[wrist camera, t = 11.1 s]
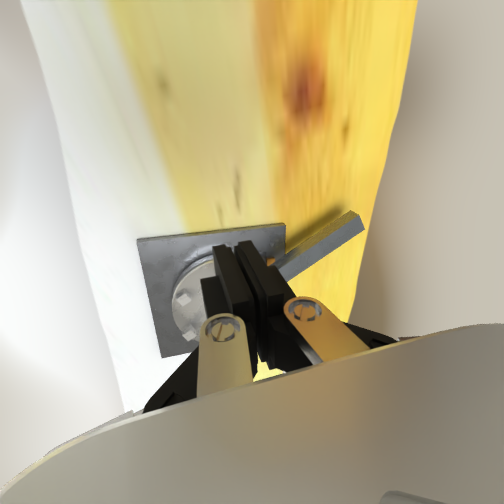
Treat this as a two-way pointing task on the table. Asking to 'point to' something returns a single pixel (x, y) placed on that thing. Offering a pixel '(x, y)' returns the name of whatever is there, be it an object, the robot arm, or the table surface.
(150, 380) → the table surface
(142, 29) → the table surface
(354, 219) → the grey disc with handle
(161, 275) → the plate
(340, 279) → the table surface
